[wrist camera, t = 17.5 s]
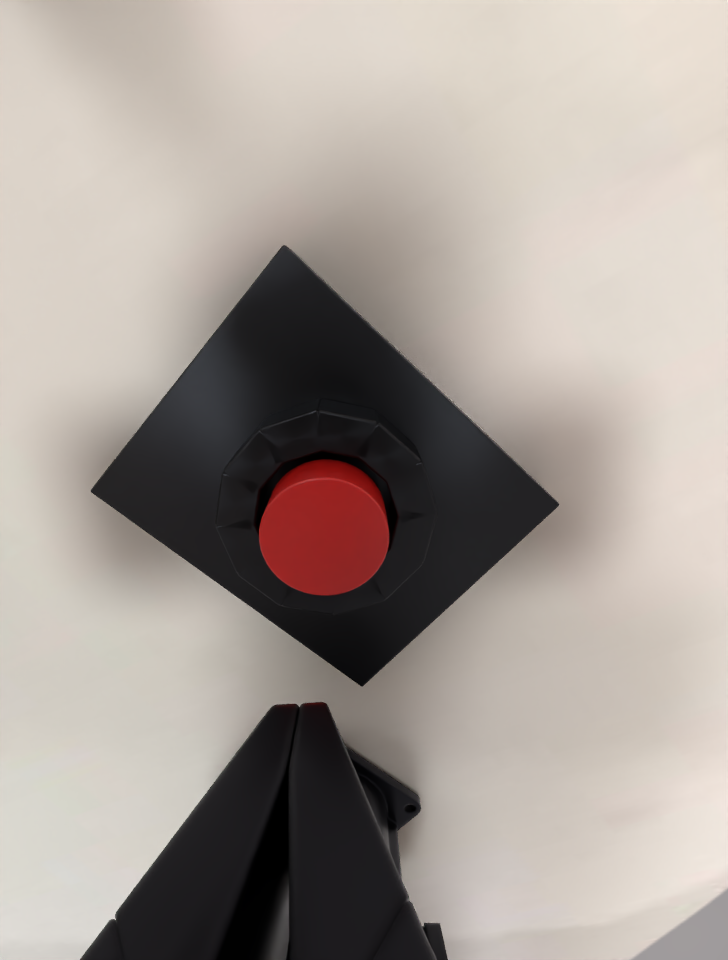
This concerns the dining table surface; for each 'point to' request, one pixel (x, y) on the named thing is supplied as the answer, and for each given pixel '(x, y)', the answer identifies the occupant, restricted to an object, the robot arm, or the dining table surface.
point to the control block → (314, 436)
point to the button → (324, 528)
